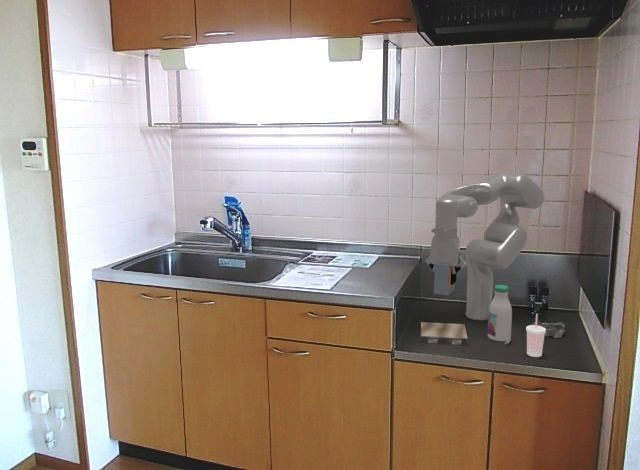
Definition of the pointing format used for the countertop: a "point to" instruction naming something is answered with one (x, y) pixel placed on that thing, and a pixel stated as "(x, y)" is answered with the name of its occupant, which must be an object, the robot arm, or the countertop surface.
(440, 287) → the carton
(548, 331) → the egg carton
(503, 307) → the milk bottle
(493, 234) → the robot arm
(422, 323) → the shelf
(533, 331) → the beverage cup
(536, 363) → the countertop surface
